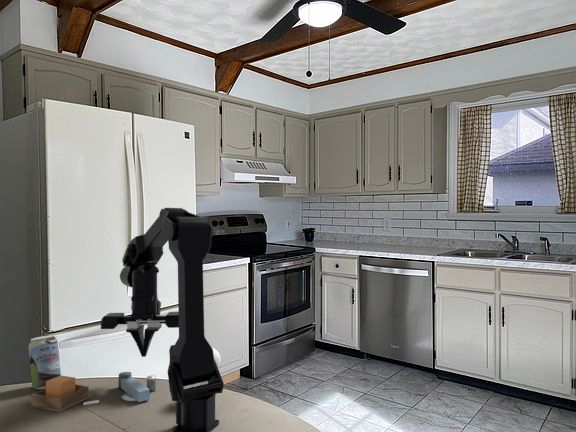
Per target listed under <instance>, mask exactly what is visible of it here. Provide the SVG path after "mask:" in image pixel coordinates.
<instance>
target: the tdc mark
mask: <svg viewBox="0 0 576 432" xmlns="http://www.w3.org/2000/svg"><path fill="white" fill-rule="evenodd" d="M99 403H100V400H99V399H97V400H96V399H95V400H89V401H85V402H83V406H89V405H94V404H95V405H96V404H99Z"/></svg>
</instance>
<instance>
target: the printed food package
mask: <svg viewBox="0 0 576 432" xmlns="http://www.w3.org/2000/svg"><path fill="white" fill-rule="evenodd" d="M59 353H60V352H59V343H58V339H57V338H56V336H55V335H54V334H48V335H42V336H37V337H34V338H30V342H29V344H28V355H29V366H30V377H31V387H32V388H34V389H35V390H43V389H46V381H48V380H51V379H54V378H56V377H59V376H62V375H61V374H62V372H61V363H60V354H59Z"/></svg>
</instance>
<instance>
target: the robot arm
mask: <svg viewBox="0 0 576 432" xmlns="http://www.w3.org/2000/svg"><path fill="white" fill-rule="evenodd" d="M213 232H214V231H213V225H212V224H211V222H210V221H208V219H207V218H206V217H205V216H204V217H203V216H200V215H197V214H195V213H192V212H189V211H188V210H186V209H185V208H184V209H183V207H164V208H160V211H159V213H158V217H157V218H156V220H154V222H153V223H152V224H151V226H150V227H149V228H148V229H147V230H146V232H145V233H144V234H140V235H137V236H135V237H133V238H132V239H131V240H130V242H129V243H128V244H127V247H126V249H125V252H124V253H123V257H122V267H123V268H122V269H121V271H120V274H119V280H120V281H121V283H122V285H124V286H126V287H129V288H131V293H132V294H131V297H130V299H131V300H130V301H131V305H130V308H131V314H130V316H129V315H128V316H126V314H125V313H124V312H109V313H107V314H105V315H104V316H103V317H102V318H101V319H100V329H101V330H114V329H115V328H117V327H118V326H119V325H127V326H126V330H125V332H126V333H129V334H130V335H131V336H132V338H133V340H134V342H135V344H136V346H137V348H138V351H139V353H140V355H141V357H142V358H145V357H147V356H148V351H149V349H150V345H151V342H152V340H153V337H154V334H155V333H156V332H158V331H159V330H160V329H161V328H162V326H163V324H164V325H165V326H166V327H167V328H168V329H169V328H170V329H173V328H175V329H176V328H178V338H177V339H176V342H175V343H174V344H173V345H172V344H171V345H170V346H169V351H168V354H169V364H168V368H167V379H168V385H169V392H170V396H171V401H172V402H175V424H176V426H174V427H173V428H172V432H211V431H212V430H213V429H214V428H215V427H217V426H218V425H219V424H220V420H219V419H216V394H222V393H223V390H224V385H225V384H224V380H223V378H222V375H221V373H220V370H219V369H218V367H217V365H216V362H215V359H214V354H213V349H212V348H213V347H212V346H211V344H210V343H209V341H208V340H207V338H206V337H205V308H204V307H205V305H204V303H205V301H204V299H205V298H204V260H205V258H206V257H207V255H208V254H209V251H210V250H211V247H212V237H213ZM166 243H168V249H169V252H170V253H171V254H172V256H173V257H174V259H175V260H176V262H177V294H178V295H177V298H178V299H177V300H178V301H177V303H178V307H177V308H178V311H168V313H166V315H161V307H162V302H161V301H160V300H159V298H158V274H159V272H160V269H159V267H158V266H157V265H158V263H159V262H160V260H161V258H162V256H163V255H164V246H165V245H166ZM145 325H146V326H147V327H146V328H145ZM206 381H208V384H204V385H200V383H201V382H206ZM197 384H199V385H197ZM192 385H196V386H192ZM188 386H192V387H189V388H185V387H188Z"/></svg>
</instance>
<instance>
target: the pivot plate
mask: <svg viewBox="0 0 576 432" xmlns="http://www.w3.org/2000/svg"><path fill="white" fill-rule="evenodd" d="M121 399H122V400H123V401H126V402H138V401H137V400H135V399H134V398H132V397H129V394H128V393H126V392H125V393H124V394H123V395H122V396H121Z"/></svg>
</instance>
